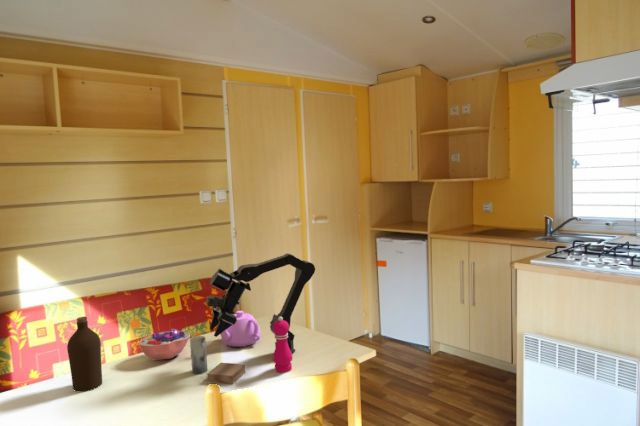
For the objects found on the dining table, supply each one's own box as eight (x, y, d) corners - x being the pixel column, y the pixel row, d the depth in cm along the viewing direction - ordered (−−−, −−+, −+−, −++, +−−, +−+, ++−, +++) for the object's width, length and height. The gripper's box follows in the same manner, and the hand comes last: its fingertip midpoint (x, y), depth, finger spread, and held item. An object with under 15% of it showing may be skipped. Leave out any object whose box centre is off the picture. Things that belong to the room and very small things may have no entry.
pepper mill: (296, 366, 172) (293, 314, 170) (287, 374, 165) (284, 320, 164) (279, 364, 175) (276, 313, 173) (270, 371, 168) (266, 318, 167)
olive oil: (80, 395, 157) (74, 324, 155) (65, 388, 163) (58, 320, 161) (110, 383, 165) (104, 315, 164) (94, 377, 171) (88, 312, 170)
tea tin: (210, 368, 174) (208, 336, 173) (202, 374, 169) (200, 341, 168) (197, 367, 176) (195, 335, 175) (189, 373, 170) (186, 340, 170)
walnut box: (245, 372, 169) (245, 364, 169) (232, 384, 159) (232, 375, 159) (221, 370, 172) (221, 362, 172) (207, 381, 162) (207, 373, 162)
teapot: (201, 347, 197) (199, 316, 196) (237, 332, 215) (235, 303, 214) (238, 357, 184) (235, 323, 183) (273, 340, 202) (271, 309, 201)
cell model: (140, 355, 192) (137, 328, 192) (189, 346, 200) (187, 320, 199) (140, 369, 177) (138, 341, 176) (193, 359, 184) (191, 332, 183)
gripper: (210, 282, 182) (190, 317, 179) (219, 291, 164) (197, 331, 162) (234, 294, 186) (215, 329, 183) (245, 304, 169) (224, 343, 166)
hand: (212, 332), depth 174 cm, fingers open, 9 cm apart
